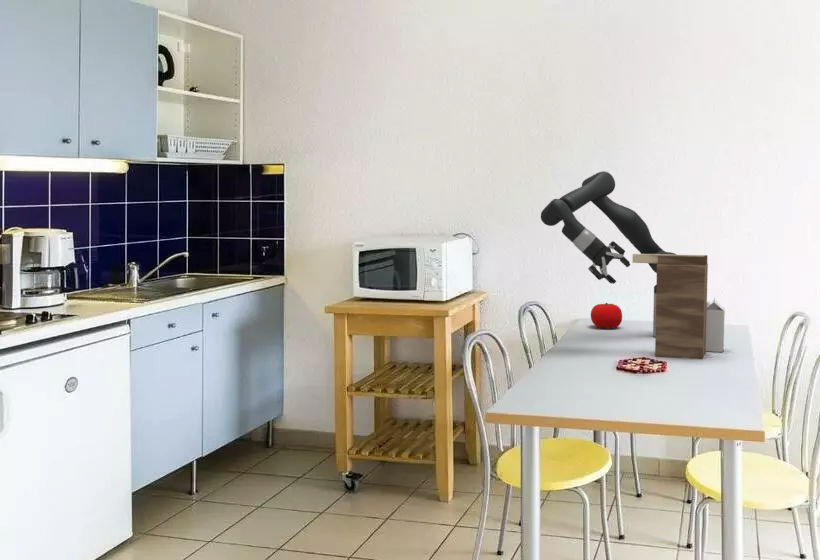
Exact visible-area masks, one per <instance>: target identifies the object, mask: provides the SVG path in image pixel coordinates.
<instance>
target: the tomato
mask: <svg viewBox="0 0 820 560" xmlns="http://www.w3.org/2000/svg"><path fill="white" fill-rule="evenodd" d="M590 319H591V322H592V324H593V325H594V326H595V327H596V328H601V329H615V328H617V327H619V326H620V325H621V324H622V321H623V313H622V309H621V308H620V306H618V305H617V304H615V303H608V302H606V303H599V304H596V305H594V306H593V307H592V308H591V311H590Z"/></svg>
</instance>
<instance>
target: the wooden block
mask: <svg viewBox="0 0 820 560" xmlns="http://www.w3.org/2000/svg"><path fill="white" fill-rule="evenodd" d="M704 255H705V254H677V255H671V254H641V253H633V254H632V264H648V263H658V256H704Z"/></svg>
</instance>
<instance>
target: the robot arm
mask: <svg viewBox="0 0 820 560" xmlns="http://www.w3.org/2000/svg"><path fill="white" fill-rule="evenodd" d="M615 188H616V180H615V178H614V176H613V175H612V174H611V173H610V172H608V171H605V170H604V171H603V170H602V171H598V172H597V173H595V174H593V175H591V176H589V177H587V178H586V179H584V180H583V181H582V183H581V186H580V187H578V188H576V189H573V190H571V191H569V192H567V193H565V194H564V195H562V196H561V197H559V198H553V199H552V200H551V201H550V202H549V203H547V205H546V206H545V207H544V208H543V209H542V211H541V212H540V220H541V222H542V223H543V224H544V225H546V226H549V227H553V226H556V225H558V224H559V223H561V222H563V224H564V225H563V227H562V228H561V233H562V234H563V235H564V236H565V237H566V238H567V239H568V240H569V241H570V242H571V243H573V246H575V247H576V249H578V250H579V251H580V252H581V253H582V254H584V256H585V257H587V258H588V259H589V260H590V261H592V264H591V265H589V267H587V269H588V270H589V272H590V273H591V274H593V275H592V276H594V277H595V278H596V279H597V280H599V281H601V280H603V279H605V280H606V281H607V282H608V283H609V284H611V285H612V284H613V285H614V284H616V282H617V280H616V279H615V278H614V277H613V276H612V275H610V274H608V270H607V266H608V265H609V264H610V262H612V261H613V260H619V262H621V263H622V264H623V266H625V267H626V268H629V267H630V266H631V262H630V260H628V259H627V258H626V256H624V255H625V253H626V250H624V248H623V247H621V246H620V245H619V244H618V243H616V242H615V241H613V240H612V241H611V242H609V244H608V245H606V243H604V241H602V240H601V239H600V238H598V237H597V235H595V234H594V233H593V232H592V231H591V230H589V229H588V228H587V227H586V226H584V225H583V224H582V223H580V221H579V220H578V219H577V217H576V216H575V215H574V213H575V212H576V211H578V210H579V209H581V208H582V207H584V206H586V205H587V204H588V203H592V204H593V205H594V206H596V207H597V209H599V210H600V211H601V212H602V213H603V214H605V216H606V217H607V218H608V219H609V220H610V221H611V223H613V224H614V225H615V227H616V228H617V229H618V230H619V232H620V233H621V234H622V235H623V236H624V237H625V238H626V240H627V241H629V243H630V244H632V246H633V247H634V248H635V249H636V250H637V251H638V253H639V254H671V255H678V254H677V253H675V252H670V251H669V252H668V251H665V250H664V249H663V248H662V247H661V246H660V245H659V244H658V243H657V242H655V240H654V239H653V237H652V235H651V231H650V229H649V227H648V225H647V223H646V221H644V220H643V218H642V217H641V216H640V215H639V214H638V213H637V212H636V211H635V210H633V209H632V208H629V207H628V206H627V207H626V206H624V205H621V204H619V203H617V202H616V201H613V200H612V199H611V198H610V197H608V196H609V195H611V193H613V192H614V191H615ZM612 250H614V251H615V252H612ZM647 264H648V266H649V267H650V268H651V269H652V271H653V272H654V273H656V274H657V265H658V263H647ZM596 266H597V267H598V268H599V270H598V268H597V267H596ZM652 318H653V320H652V321H653V322H652V324H653V325H652V337H654V338H655V335H656V284H655V285H654V287H653V317H652Z"/></svg>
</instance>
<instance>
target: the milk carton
mask: <svg viewBox="0 0 820 560" xmlns="http://www.w3.org/2000/svg"><path fill="white" fill-rule="evenodd" d="M725 311H726V310H725V307H724V306H723V305H721V304H720V303H719V302H718V301H717V300H716V296H714V297H713V300H712V301H710V300H707V318H706V352H710V353H711V352H713V353H714V352H715V353H723V352H724V348H725V345H724V344H725V315H726V314H725V313H726V312H725Z"/></svg>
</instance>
